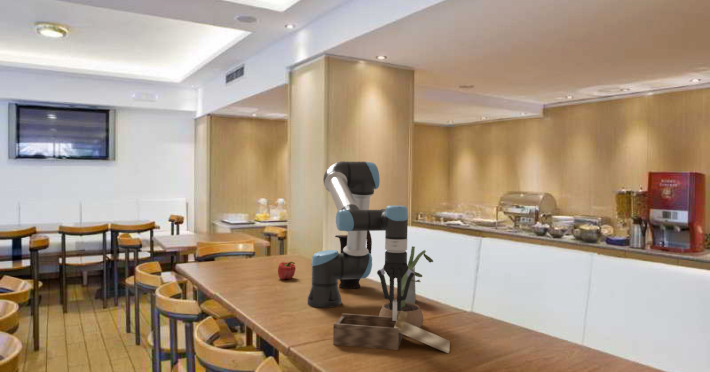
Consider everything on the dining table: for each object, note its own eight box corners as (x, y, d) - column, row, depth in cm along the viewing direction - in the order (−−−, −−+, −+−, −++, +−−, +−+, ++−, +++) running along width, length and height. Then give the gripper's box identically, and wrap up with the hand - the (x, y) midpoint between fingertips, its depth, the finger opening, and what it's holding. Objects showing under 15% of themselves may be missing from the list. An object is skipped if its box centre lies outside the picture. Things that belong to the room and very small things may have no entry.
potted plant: (408, 337, 170) (409, 253, 169) (369, 326, 182) (370, 247, 182) (442, 324, 187) (443, 247, 186) (405, 314, 199) (406, 242, 198)
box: (333, 344, 162) (333, 323, 162) (342, 332, 175) (342, 313, 175) (398, 350, 157) (398, 328, 157) (402, 337, 170) (402, 317, 170)
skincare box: (414, 304, 215) (415, 269, 215) (398, 303, 217) (399, 268, 217) (416, 299, 224) (416, 265, 223) (400, 298, 225) (401, 265, 225)
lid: (392, 329, 159) (397, 316, 158) (396, 321, 169) (401, 308, 168) (448, 353, 155) (453, 339, 155) (449, 342, 165) (453, 330, 165)
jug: (325, 289, 242) (325, 229, 242) (339, 281, 260) (340, 226, 259) (364, 293, 235) (364, 232, 234) (376, 285, 252) (377, 228, 251)
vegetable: (300, 278, 267) (300, 260, 267) (288, 281, 258) (288, 263, 258) (285, 276, 273) (285, 258, 273) (273, 279, 264) (273, 261, 264)
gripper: (375, 251, 161) (374, 321, 162) (414, 253, 159) (413, 324, 159) (379, 248, 169) (378, 315, 169) (416, 250, 166) (415, 318, 166)
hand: (395, 319), depth 164 cm, fingers closed
